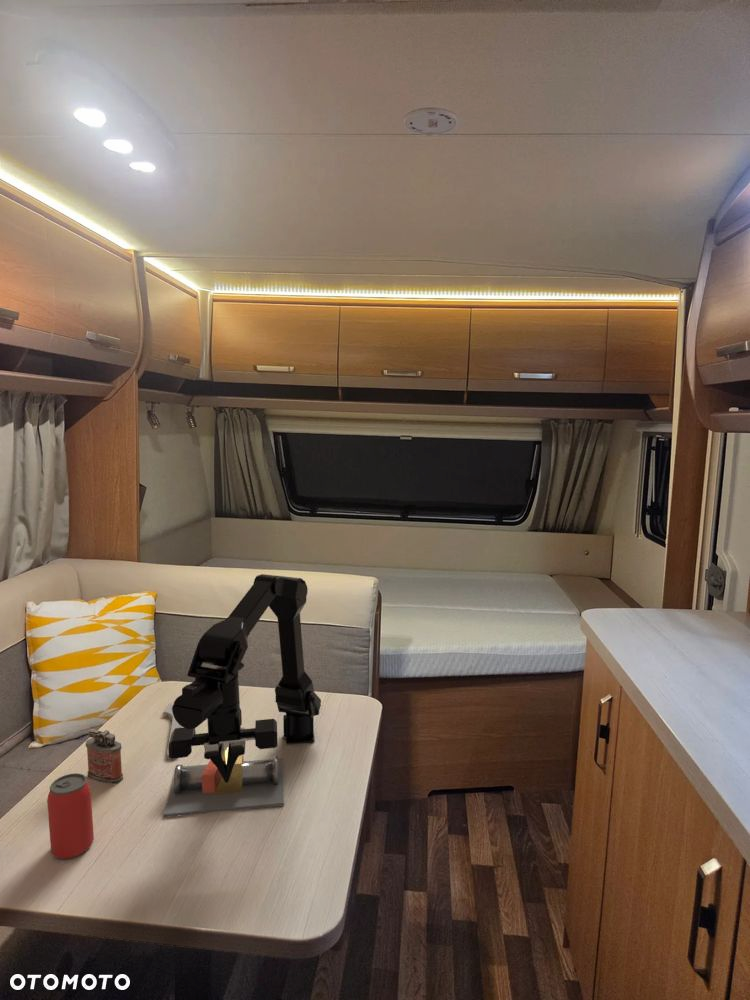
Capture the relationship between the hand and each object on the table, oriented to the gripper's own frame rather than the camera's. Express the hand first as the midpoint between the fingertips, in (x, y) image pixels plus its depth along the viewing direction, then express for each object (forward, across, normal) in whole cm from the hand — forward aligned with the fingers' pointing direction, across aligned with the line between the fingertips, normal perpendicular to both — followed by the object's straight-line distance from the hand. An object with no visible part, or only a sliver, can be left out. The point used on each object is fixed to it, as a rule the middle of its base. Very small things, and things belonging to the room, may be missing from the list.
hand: (226, 781), depth 108 cm
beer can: (+8, +26, +3) cm, 27 cm away
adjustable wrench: (+8, +15, -34) cm, 38 cm away
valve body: (+8, +1, -10) cm, 13 cm away
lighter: (+7, +26, -17) cm, 32 cm away
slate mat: (+8, +1, -10) cm, 13 cm away
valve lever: (+1, +2, -5) cm, 5 cm away
